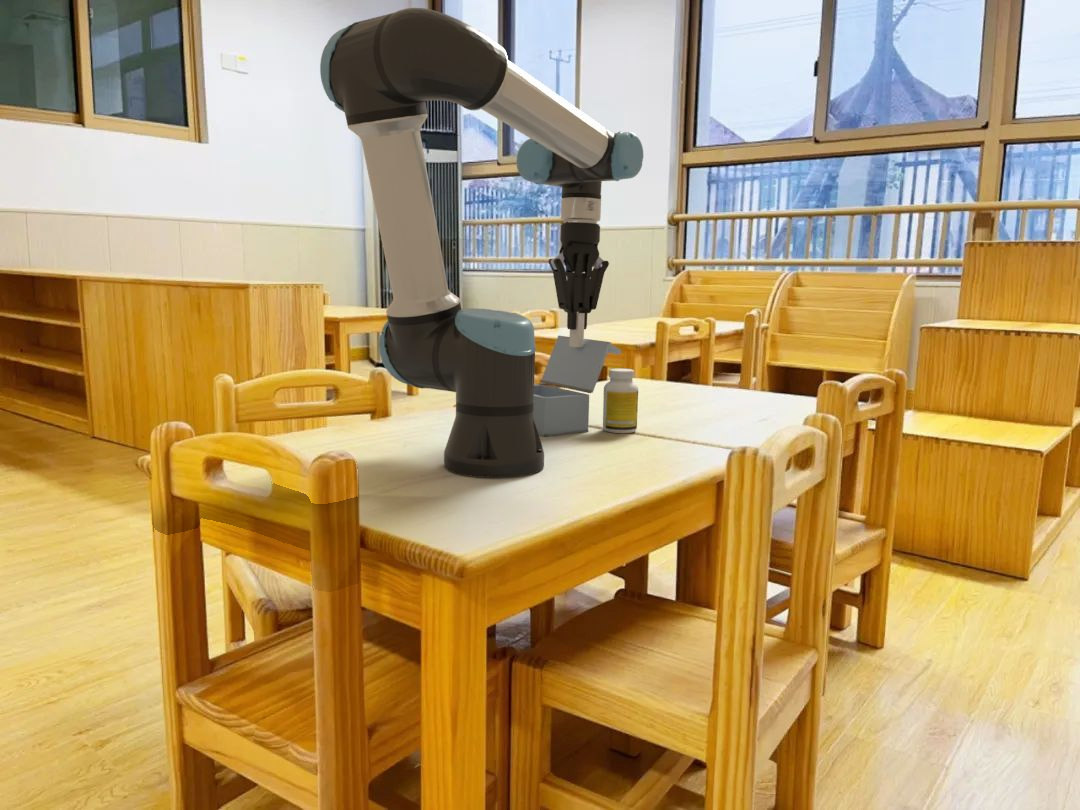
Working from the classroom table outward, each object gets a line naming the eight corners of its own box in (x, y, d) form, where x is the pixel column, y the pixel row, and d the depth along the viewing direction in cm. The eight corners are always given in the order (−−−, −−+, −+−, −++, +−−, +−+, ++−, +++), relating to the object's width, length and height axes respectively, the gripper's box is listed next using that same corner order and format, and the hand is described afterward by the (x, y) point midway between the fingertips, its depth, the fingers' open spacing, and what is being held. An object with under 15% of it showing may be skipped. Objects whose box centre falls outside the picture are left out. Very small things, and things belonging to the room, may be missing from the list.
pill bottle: (638, 434, 150) (640, 372, 148) (603, 433, 150) (605, 371, 148) (635, 428, 156) (637, 368, 155) (601, 427, 157) (603, 367, 155)
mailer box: (543, 436, 146) (544, 398, 145) (498, 422, 159) (499, 387, 158) (588, 431, 152) (589, 394, 151) (540, 418, 165) (541, 384, 164)
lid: (608, 341, 151) (626, 351, 154) (557, 334, 165) (574, 344, 167) (588, 392, 150) (607, 401, 153) (539, 382, 164) (557, 390, 166)
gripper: (564, 219, 147) (560, 349, 151) (619, 223, 154) (614, 347, 158) (541, 221, 153) (537, 345, 157) (595, 225, 160) (591, 344, 164)
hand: (576, 346), depth 157 cm, fingers closed
